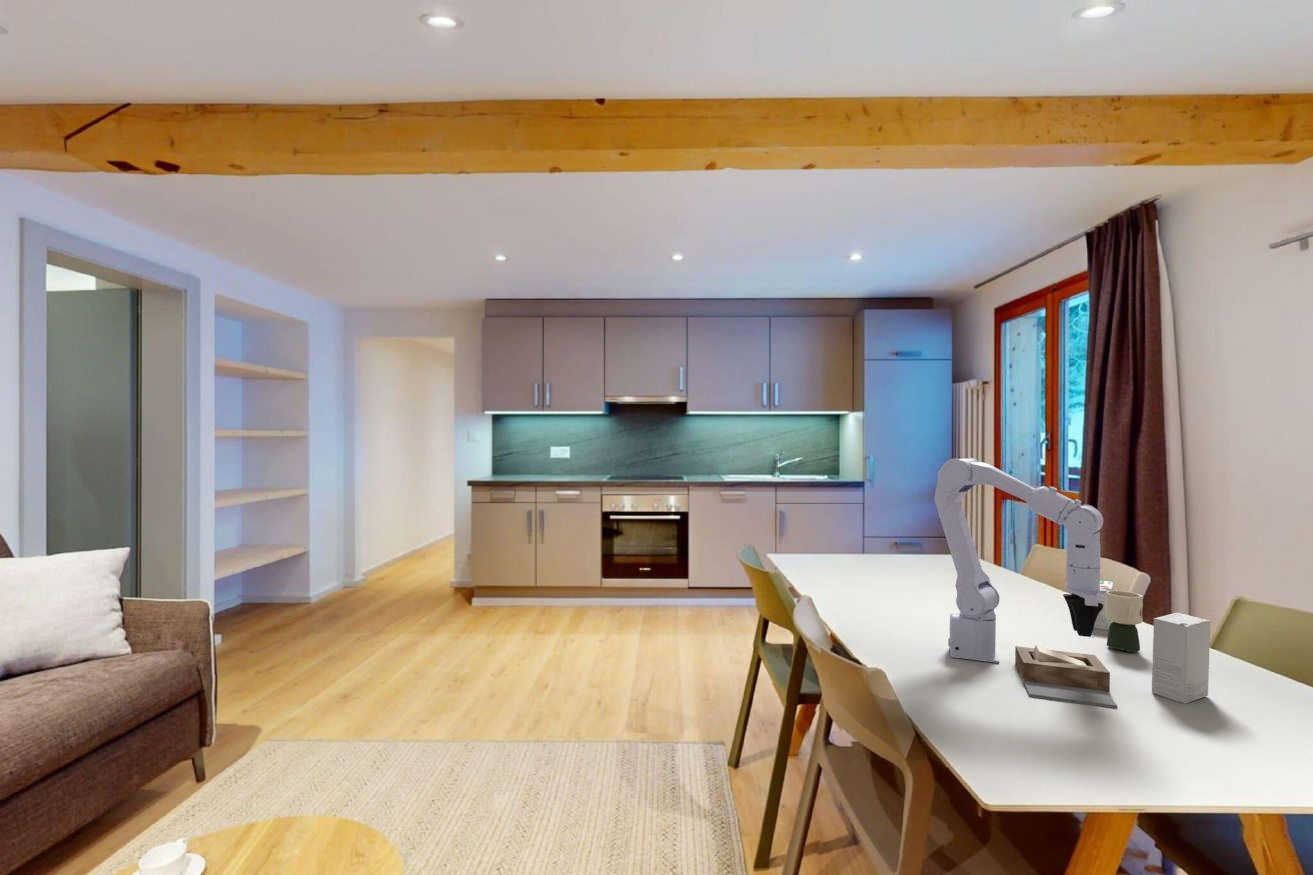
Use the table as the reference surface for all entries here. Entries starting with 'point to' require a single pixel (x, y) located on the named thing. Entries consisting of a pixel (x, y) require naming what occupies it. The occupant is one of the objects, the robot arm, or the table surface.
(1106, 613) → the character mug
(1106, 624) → the light bulb box
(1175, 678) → the skincare box
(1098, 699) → the slate mat
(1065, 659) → the birch bar
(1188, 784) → the table surface
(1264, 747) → the table surface
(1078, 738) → the table surface
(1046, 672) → the walnut board
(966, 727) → the table surface
